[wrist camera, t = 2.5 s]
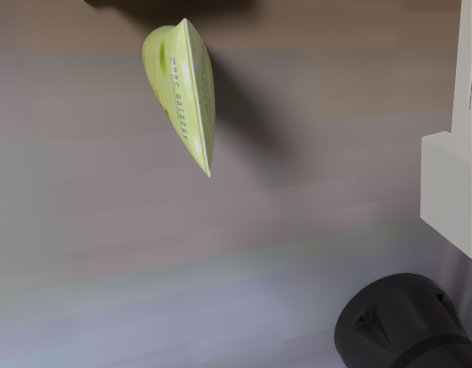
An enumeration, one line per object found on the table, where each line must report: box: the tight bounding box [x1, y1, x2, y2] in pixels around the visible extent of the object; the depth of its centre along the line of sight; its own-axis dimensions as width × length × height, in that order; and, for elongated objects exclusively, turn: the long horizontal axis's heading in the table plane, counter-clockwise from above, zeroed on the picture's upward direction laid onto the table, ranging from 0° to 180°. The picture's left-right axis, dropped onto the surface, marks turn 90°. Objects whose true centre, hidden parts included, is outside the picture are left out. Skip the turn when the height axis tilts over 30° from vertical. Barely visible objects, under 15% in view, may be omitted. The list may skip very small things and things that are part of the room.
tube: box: [142, 18, 215, 178], centre depth 29 cm, size 6×5×20 cm
